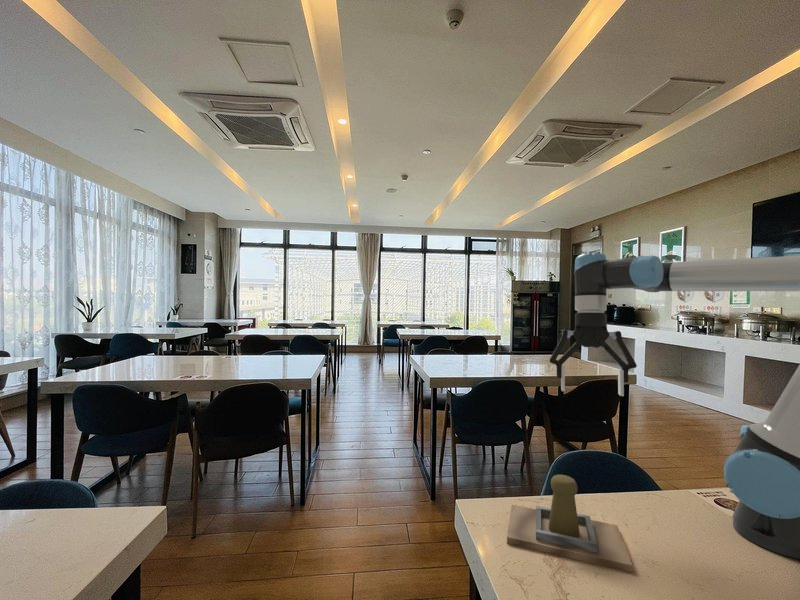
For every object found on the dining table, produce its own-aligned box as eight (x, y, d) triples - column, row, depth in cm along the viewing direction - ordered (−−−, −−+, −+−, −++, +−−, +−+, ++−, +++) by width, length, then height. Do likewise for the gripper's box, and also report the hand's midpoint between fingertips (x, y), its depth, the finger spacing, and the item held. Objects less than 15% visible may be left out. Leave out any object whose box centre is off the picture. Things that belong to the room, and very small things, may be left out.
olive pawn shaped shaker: (583, 541, 72) (583, 485, 73) (551, 537, 74) (552, 481, 74) (575, 524, 78) (574, 472, 79) (545, 520, 80) (545, 469, 80)
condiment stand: (617, 530, 78) (617, 517, 79) (632, 572, 65) (632, 556, 66) (511, 509, 86) (511, 498, 86) (506, 543, 73) (506, 529, 73)
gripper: (641, 313, 95) (643, 394, 94) (540, 312, 104) (540, 386, 103) (649, 312, 88) (651, 400, 87) (540, 311, 97) (540, 390, 96)
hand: (591, 392), depth 95 cm, fingers open, 13 cm apart
